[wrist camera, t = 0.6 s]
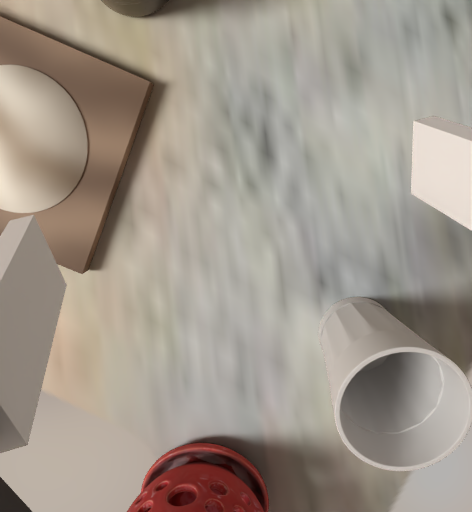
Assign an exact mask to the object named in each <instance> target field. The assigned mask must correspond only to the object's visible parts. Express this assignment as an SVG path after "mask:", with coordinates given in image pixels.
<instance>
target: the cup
mask: <svg viewBox="0 0 472 512" xmlns="http://www.w3.org/2000/svg"><path fill="white" fill-rule="evenodd" d="M318 337H319V342H320V345H321V348H322V350H323V354H324V359H325V364H326V369H327V374H328V379H329V384H330V393H331V399H332V405H333V411H334V417H335V422H336V427H337V430H338V433H339V435H340V437H341V439H342V441H343V442H344V444H345V445H346V446H347V448H348V449H349V450H350V451H351V452H352V453H353V454H354V455H355V456H357V457H358V458H359V459H361V460H362V461H364V462H366V463H368V464H370V465H372V466H375V467H378V468H381V469H385V470H391V471H411V470H417V469H421V468H424V467H427V466H430V465H433V464H435V463H437V462H439V461H441V460H442V459H444V458H445V457H447V456H448V455H449V454H451V453H452V452H453V451H454V450H455V449H456V448H457V447H458V446H459V445H460V444H461V442H462V441H463V439H464V438H465V436H466V435H467V433H468V431H469V429H470V427H471V424H472V387H471V385H470V383H469V380H468V379H467V377H466V375H465V374H464V372H463V371H462V370H461V369H460V368H459V367H458V366H457V365H456V364H455V363H454V362H453V361H452V360H450V359H449V358H448V357H446V356H445V355H444V354H442V353H441V352H439V351H438V350H437V349H435V348H434V347H433V346H431V345H430V344H429V343H427V342H426V341H425V340H423V339H422V338H421V337H420V336H418V335H417V334H416V333H414V332H413V331H412V330H411V329H409V328H408V327H407V326H405V325H404V324H403V323H402V322H400V321H399V320H398V319H396V318H395V317H394V316H393V315H391V314H390V313H389V312H387V311H386V309H385V308H384V307H383V306H382V305H380V304H379V303H377V302H376V301H374V300H371V299H368V298H364V297H350V298H346V299H343V300H341V301H338V302H337V303H335V304H334V305H332V306H331V307H330V308H329V309H328V310H327V311H326V312H325V314H324V315H323V317H322V319H321V321H320V324H319V330H318Z"/></svg>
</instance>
